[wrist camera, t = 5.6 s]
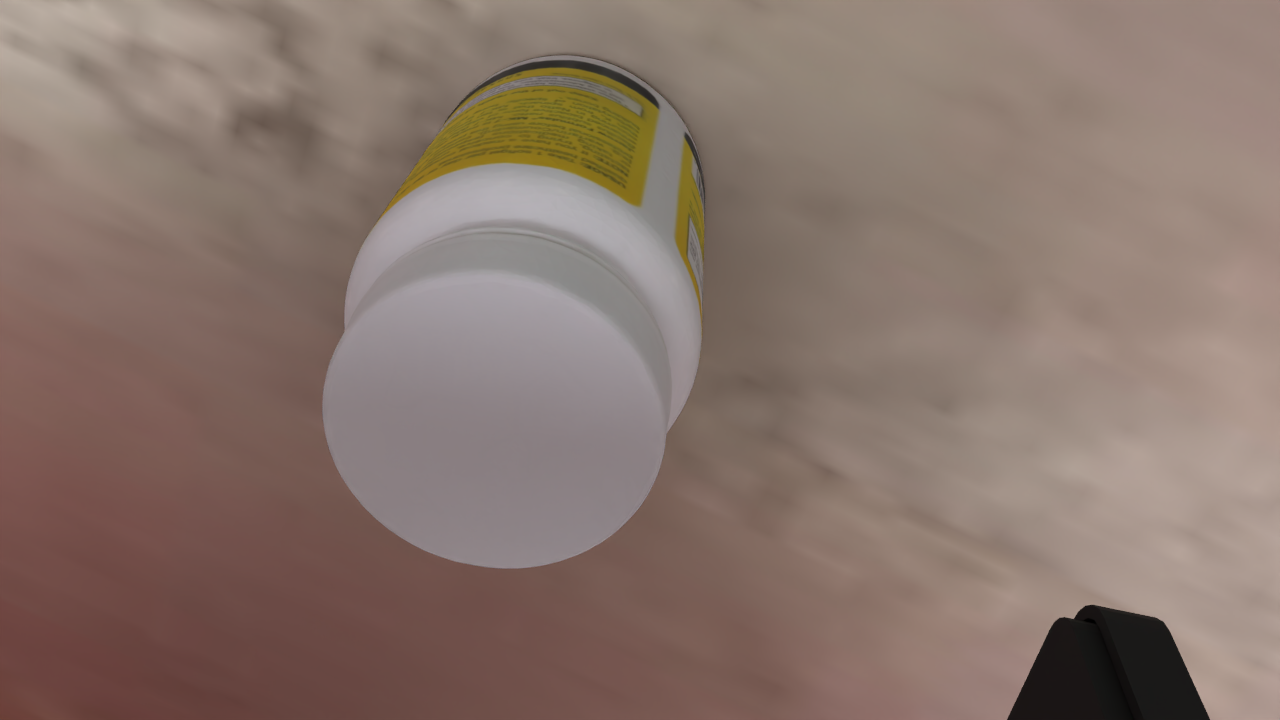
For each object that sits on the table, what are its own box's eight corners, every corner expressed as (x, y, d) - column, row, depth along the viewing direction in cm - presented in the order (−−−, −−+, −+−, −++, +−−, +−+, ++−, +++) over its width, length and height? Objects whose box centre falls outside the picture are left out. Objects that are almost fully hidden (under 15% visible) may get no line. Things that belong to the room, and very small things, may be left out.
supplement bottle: (382, 158, 21) (196, 388, 13) (589, -9, 19) (509, 144, 12) (555, 354, 22) (475, 655, 15) (759, 214, 21) (783, 472, 13)
